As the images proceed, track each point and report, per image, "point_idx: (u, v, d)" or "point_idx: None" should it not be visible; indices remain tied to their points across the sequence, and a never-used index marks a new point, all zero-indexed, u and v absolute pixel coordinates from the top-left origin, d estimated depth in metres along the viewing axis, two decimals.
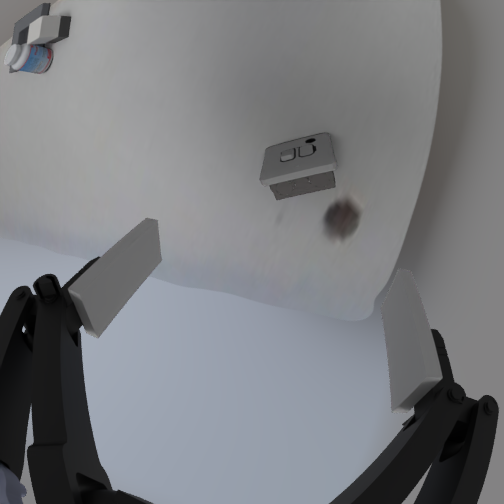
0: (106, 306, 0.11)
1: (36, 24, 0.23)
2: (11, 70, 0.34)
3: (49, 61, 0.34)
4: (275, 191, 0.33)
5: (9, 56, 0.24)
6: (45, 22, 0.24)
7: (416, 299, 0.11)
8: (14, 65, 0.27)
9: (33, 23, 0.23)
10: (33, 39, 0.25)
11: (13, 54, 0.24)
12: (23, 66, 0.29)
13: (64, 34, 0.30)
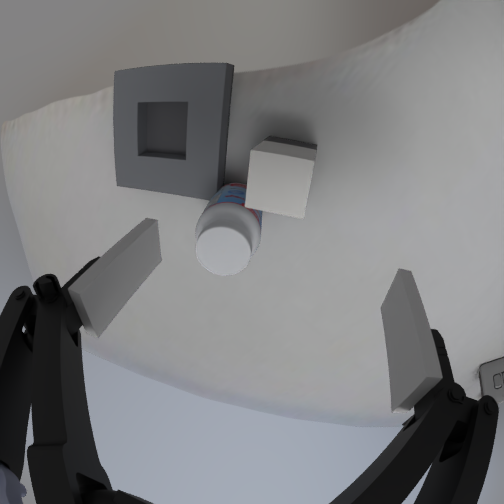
0: (106, 306, 0.11)
1: (287, 172, 0.21)
2: (124, 183, 0.32)
3: None
4: None
5: (222, 257, 0.23)
6: None
7: (416, 299, 0.11)
8: None
9: (271, 159, 0.21)
10: (276, 209, 0.23)
11: (246, 262, 0.23)
12: None
13: None
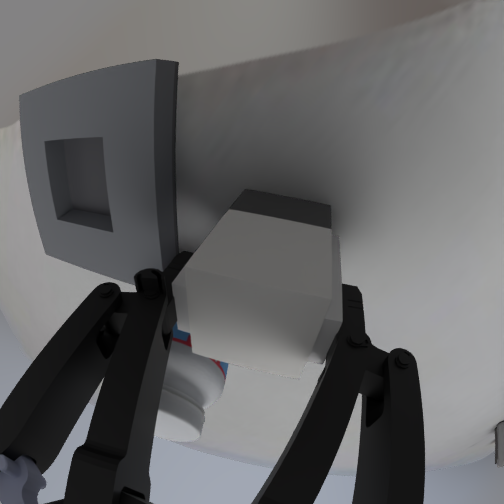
0: None
1: (267, 315, 0.10)
2: (52, 253, 0.20)
3: None
4: None
5: (157, 428, 0.12)
6: None
7: (335, 257, 0.13)
8: None
9: (231, 290, 0.09)
10: (249, 364, 0.11)
11: (195, 438, 0.12)
12: None
13: None
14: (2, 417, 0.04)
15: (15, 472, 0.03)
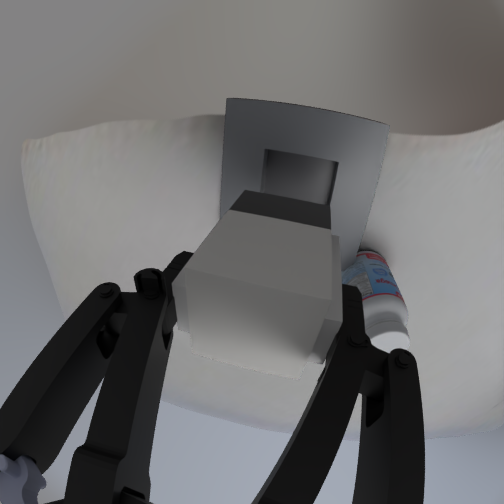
0: None
1: (267, 316, 0.10)
2: None
3: None
4: None
5: None
6: None
7: (335, 257, 0.13)
8: None
9: (230, 291, 0.09)
10: (248, 365, 0.11)
11: None
12: None
13: None
14: (2, 417, 0.04)
15: (15, 472, 0.03)
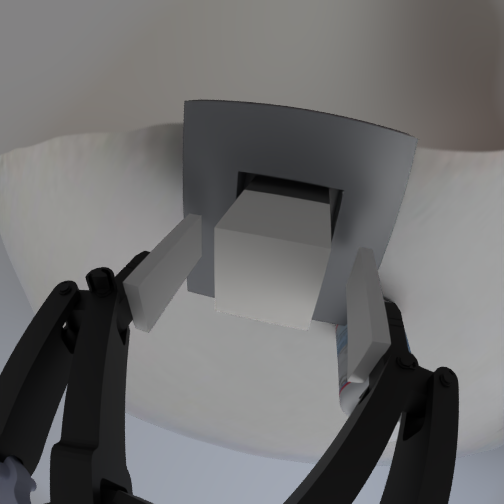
0: (158, 300, 0.12)
1: (281, 266, 0.12)
2: (201, 290, 0.22)
3: None
4: None
5: None
6: None
7: (372, 273, 0.12)
8: None
9: (251, 245, 0.12)
10: (264, 317, 0.14)
11: None
12: None
13: None
14: None
15: (5, 473, 0.03)
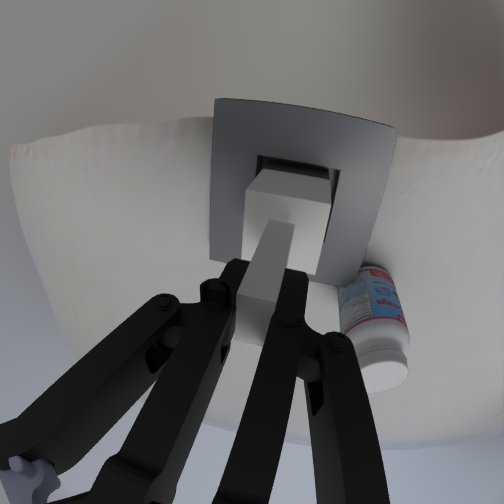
0: None
1: (294, 219, 0.16)
2: (222, 258, 0.27)
3: None
4: None
5: (377, 381, 0.18)
6: None
7: (284, 243, 0.13)
8: None
9: (273, 203, 0.16)
10: None
11: (397, 384, 0.18)
12: None
13: None
14: (25, 419, 0.05)
15: (29, 474, 0.03)
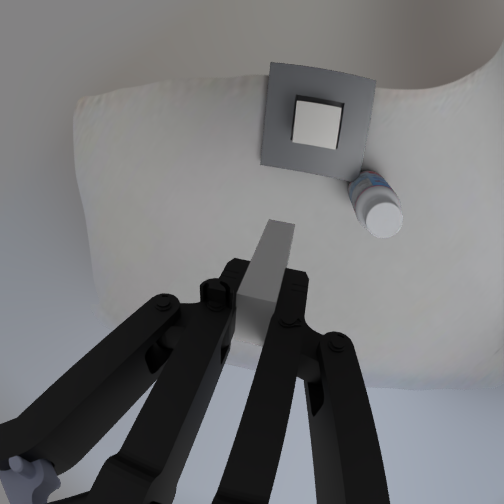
0: None
1: (323, 115, 0.27)
2: (269, 163, 0.38)
3: None
4: None
5: (383, 225, 0.29)
6: None
7: (284, 243, 0.13)
8: None
9: (311, 107, 0.27)
10: (315, 143, 0.29)
11: (398, 229, 0.29)
12: None
13: None
14: (25, 419, 0.05)
15: (29, 474, 0.03)
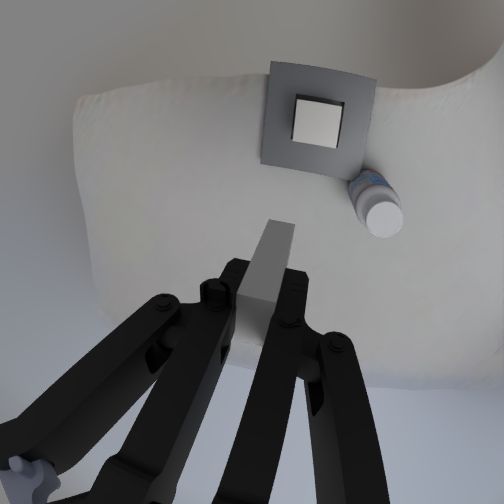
0: None
1: (323, 114, 0.27)
2: (269, 162, 0.37)
3: None
4: None
5: (383, 224, 0.29)
6: None
7: (284, 243, 0.13)
8: None
9: (311, 106, 0.27)
10: (316, 142, 0.29)
11: (398, 228, 0.29)
12: None
13: None
14: (25, 419, 0.05)
15: (29, 474, 0.03)
